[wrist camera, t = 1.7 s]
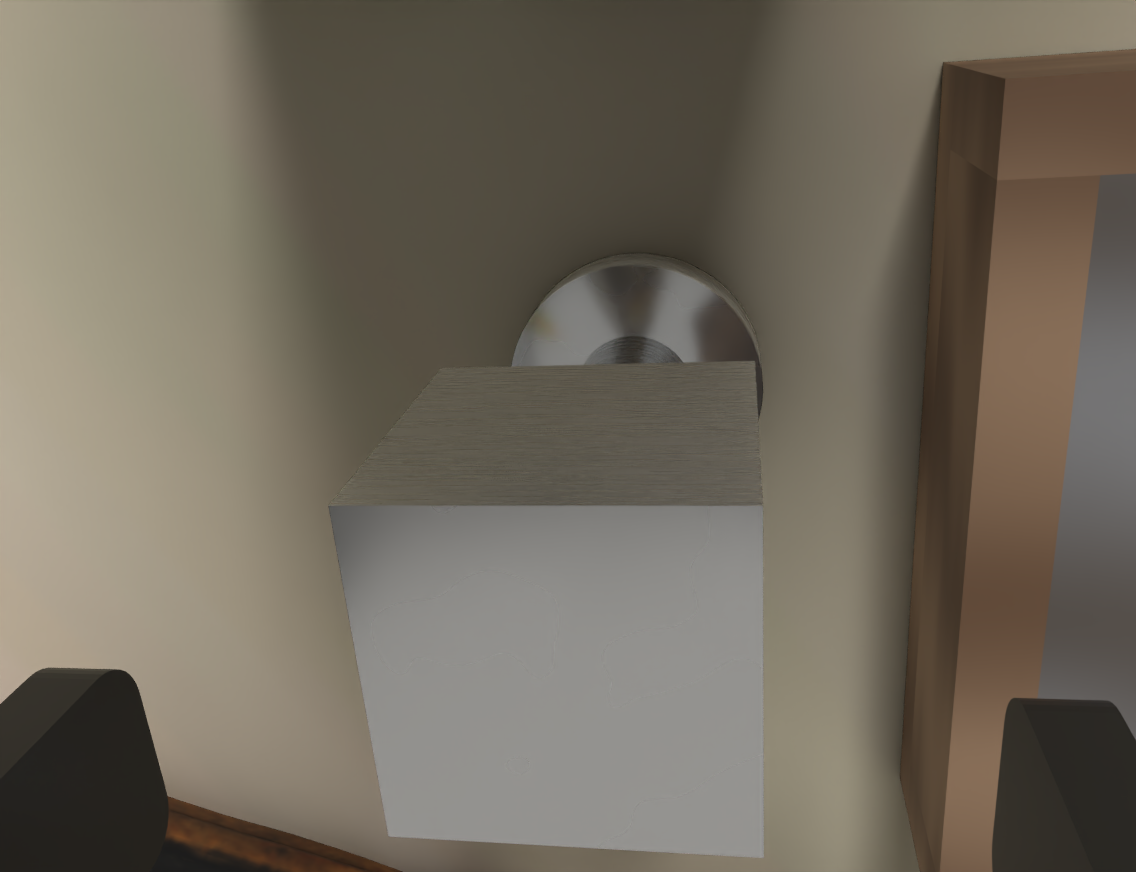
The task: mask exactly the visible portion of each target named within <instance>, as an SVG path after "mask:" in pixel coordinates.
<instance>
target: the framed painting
mask: <svg viewBox="0 0 1136 872" xmlns="http://www.w3.org/2000/svg"><path fill="white" fill-rule="evenodd" d="M167 797H168V796H167ZM168 805H169V818H168V827H167V832H166V836H165V840H164V844H163V847H162V849H161V852H160V854H159V856H158V858H157V861H156V862H155V864H154V866H153V867H152V869H151V870H150V872H402V871H399V870H397V869H394V868H391V867H388V866H385V865H382V864H380V863H377V862H374V861H372V860H369V859H366V858H363V857H360V856H357V855H354V854H351V853H348V852H346V851H343V850H340V849H337V848H334V847H331V846H327V845H324V844H321V843H318V842H315V841H312V840H309V839H306V838H302V837H299V836H296V835H293V834H290V833H286V832H283V831H279V830H276V829H272V828H269V827H265V826H261V825H258V824H254V823H250V822H247V821H243V820H240V819H236V818H233V817H230V816H226V815H223V814H220V813H217V812H214V811H211V810H207V809H204V808H201V807H198V806H195V805H192V804H189V803H186V802H183V801H180V800H177V799H174V798H171V797H168Z"/></svg>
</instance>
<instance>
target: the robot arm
mask: <svg viewBox="0 0 1136 872" xmlns="http://www.w3.org/2000/svg"><path fill="white" fill-rule="evenodd" d="M168 818H169V805H168V797H167V792H166V789H165V785H164V781H163V777H162V774H161V770H160V766H159V763H158V759H157V755H156V752H155V748H154V744H153V740H152V737H151V733H150V729H149V726H148V722H147V718H146V715H145V711H144V707H143V703H142V700H141V696H140V692H139V690H138V687H137V684H136V683H135V681H134V679H133V678H132V677H131V676H130V675H129V674H128V673H127V672H125V671H122V670H113V669H78V668H45V669H41V670H39V671H37V672H35V673H34V674H33V675H32V676H30V677H29V678H28V679H27V680H26V681H25V682H24V683H23V684H22V685H20V686H19V687H18V688H17V689H16V690H15V691H14V692H13V693H12V694H11V695H10V696H9V697H7V698H6V699H5V700H4V701H3V702H2V703H1V704H0V872H150V870H151V869H152V867H153V866H154V864H155V862H156V861H157V858H158V856H159V854H160V852H161V849H162V847H163V844H164V840H165V836H166V832H167V827H168ZM992 871H993V872H1136V740H1135V738H1134V736H1133V734H1132V732H1131V731H1130V729H1129V727H1128V725H1127V723H1126V722H1125V720H1124V718H1123V716H1122V715H1121V713H1120V711H1119V710H1118V708H1117V707H1116V706H1115V705H1114V704H1113V703H1112V702H1110V701H1107V700H1074V699H1039V698H1012V699H1011V700H1010V702H1009V703H1008V706H1007V709H1006V714H1005V720H1004V729H1003V739H1002V749H1001V759H1000V768H999V778H998V788H997V798H996V808H995V818H994V828H993V838H992Z"/></svg>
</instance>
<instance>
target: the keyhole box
mask: <svg viewBox="0 0 1136 872" xmlns="http://www.w3.org/2000/svg"><path fill="white" fill-rule="evenodd" d="M1012 698H1039V699H1074V700H1107V701H1110V702H1112V703H1113V704H1114V705H1115V706H1116V707H1117V708H1118V710H1119V711H1120V713H1121V715H1122V716H1123V718H1124V720H1125V722H1126V723H1127V725H1128V727H1129V729H1130V731H1131V732H1132V734H1133V736H1134V738H1135V740H1136V49H1131V50H1116V51H1102V52H1087V53H1073V54H1059V55H1044V56H1030V57H1015V58H1001V59H986V60H972V61H958V62H943V77H942V94H941V110H940V126H939V143H938V159H937V176H936V192H935V209H934V225H933V242H932V258H931V275H930V291H929V308H928V324H927V340H926V357H925V373H924V390H923V406H922V423H921V439H920V456H919V472H918V489H917V505H916V521H915V538H914V554H913V571H912V587H911V604H910V620H909V637H908V653H907V670H906V686H905V702H904V719H903V735H902V752H901V768H900V780H901V785H902V789H903V794H904V799H905V803H906V808H907V813H908V818H909V822H910V827H911V832H912V836H913V841H914V846H915V850H916V855H917V860H918V864H919V869H920V872H993V871H992V838H993V828H994V818H995V808H996V798H997V788H998V778H999V768H1000V759H1001V749H1002V739H1003V729H1004V720H1005V714H1006V709H1007V706H1008V703H1009V702H1010V700H1011V699H1012Z"/></svg>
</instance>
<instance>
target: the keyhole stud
mask: <svg viewBox="0 0 1136 872" xmlns="http://www.w3.org/2000/svg"><path fill="white" fill-rule="evenodd" d="M762 396H763V382H762V368H761V354H760V350H759V345H758V341H757V337H756V335H755V332H754V329H753V327H752V324H751V322H750V320H749V318H748V317H747V315H746V313H745V311H744V310H743V308H742V307H741V305H740V304H739V303H738V301H737V300H736V299H735V297H734V296H733V295H732V294H731V293H730V292H729V291H728V290H727V289H726V288H725V287H724V286H723V285H722V284H721V283H719V282H718V281H717V280H716V279H714V278H713V277H712V276H710V275H709V274H707V273H705V272H704V271H702V270H700V269H699V268H697V267H695V266H693V265H690V264H688V263H686V262H684V261H681V260H677V259H674V258H671V257H667V256H662V255H655V254H643V253H631V254H622V255H615V256H611V257H607V258H603V259H599V260H597V261H594V262H592V263H589V264H587V265H585V266H583V267H581V268H579V269H577V270H576V271H574V272H572V273H571V274H569V275H568V276H567V277H565V278H564V279H563V280H561V281H560V282H559V283H558V284H557V285H556V286H555V287H554V288H553V289H552V290H551V291H550V292H549V293H548V294H547V295H546V297H545V298H544V299H543V300H542V302H541V303H540V304H539V306H538V307H537V309H536V310H535V312H534V313H533V315H532V316H531V318H530V319H529V321H528V323H527V325H526V326H525V328H524V330H523V332H522V333H521V336H520V338H519V341H518V343H517V346H516V348H515V352H514V356H513V361H512V366H511V367H468V368H441V369H440V370H439V371H438V373H437V374H436V375H435V376H434V377H433V379H432V380H431V381H430V382H429V384H428V385H427V386H426V387H425V388H424V390H423V391H422V392H421V393H420V395H419V396H418V397H417V398H416V399H415V401H414V402H413V403H412V404H411V406H410V407H409V408H408V409H407V410H406V412H405V413H404V414H403V415H402V417H401V418H400V419H399V420H398V421H397V423H396V424H395V425H394V426H393V428H392V429H391V430H390V431H389V432H388V434H387V435H386V436H385V437H384V439H383V440H382V441H381V442H380V443H379V445H378V446H377V447H376V448H375V450H374V451H373V452H372V453H371V454H370V456H369V457H368V458H367V459H366V461H365V462H364V463H363V464H362V465H361V467H360V468H359V469H358V470H357V472H356V473H355V474H354V475H353V476H352V478H351V479H350V480H349V481H348V483H347V484H346V485H345V486H344V487H343V489H342V490H341V491H340V492H339V494H338V495H337V496H336V497H335V498H334V500H333V501H332V502H331V503H330V505H329V511H330V517H331V522H332V528H333V533H334V539H335V544H336V550H337V555H338V561H339V566H340V572H341V577H342V583H343V588H344V594H345V599H346V605H347V610H348V616H349V621H350V627H351V632H352V638H353V643H354V649H355V654H356V660H357V665H358V671H359V676H360V682H361V687H362V693H363V698H364V704H365V709H366V715H367V720H368V726H369V731H370V737H371V743H372V748H373V754H374V759H375V765H376V770H377V776H378V781H379V787H380V792H381V798H382V803H383V809H384V814H385V820H386V825H387V831H388V836H389V837H404V838H422V839H439V840H457V841H474V842H492V843H509V844H527V845H544V846H562V847H579V848H597V849H614V850H632V851H649V852H667V853H684V854H702V855H719V856H737V857H754V858H764V748H763V499H762V481H761V462H760V444H759V426H758V420H759V416H760V411H761V407H762Z"/></svg>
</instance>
